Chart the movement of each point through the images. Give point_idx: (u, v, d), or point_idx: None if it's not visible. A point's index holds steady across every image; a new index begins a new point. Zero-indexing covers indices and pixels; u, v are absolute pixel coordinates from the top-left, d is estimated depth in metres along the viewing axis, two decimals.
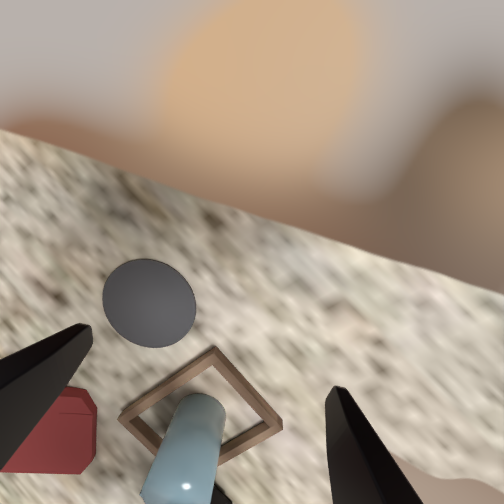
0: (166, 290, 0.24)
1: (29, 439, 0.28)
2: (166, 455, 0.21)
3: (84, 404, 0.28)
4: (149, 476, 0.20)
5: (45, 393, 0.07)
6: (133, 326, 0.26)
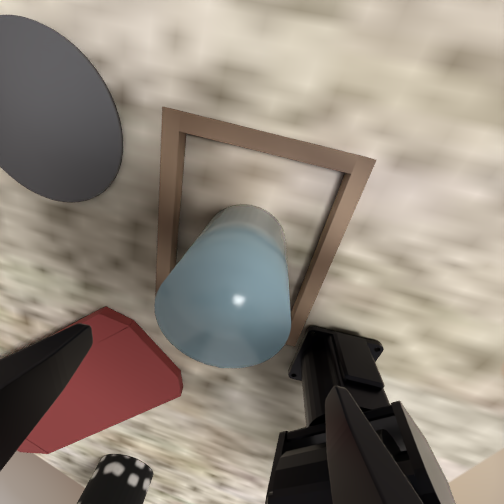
0: (30, 68, 0.13)
1: (102, 384, 0.24)
2: None
3: (110, 319, 0.21)
4: None
5: (45, 393, 0.07)
6: (60, 175, 0.16)
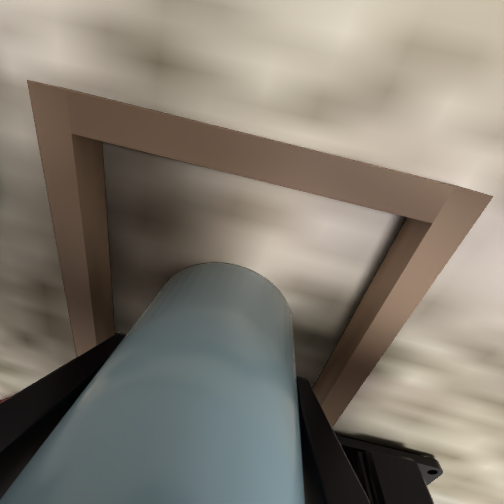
0: None
1: None
2: None
3: None
4: None
5: None
6: None
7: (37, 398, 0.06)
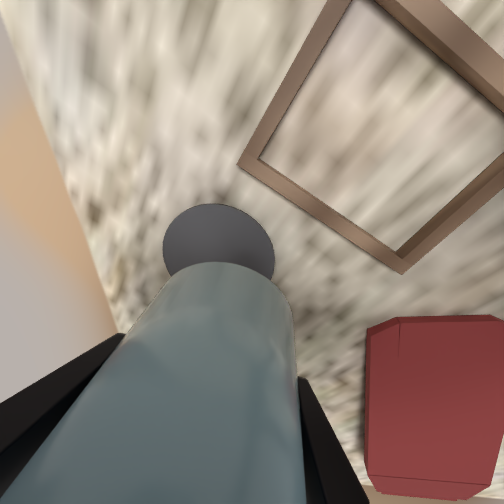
0: (189, 245, 0.21)
1: (446, 386, 0.22)
2: None
3: (382, 332, 0.21)
4: None
5: None
6: None
7: (37, 398, 0.06)
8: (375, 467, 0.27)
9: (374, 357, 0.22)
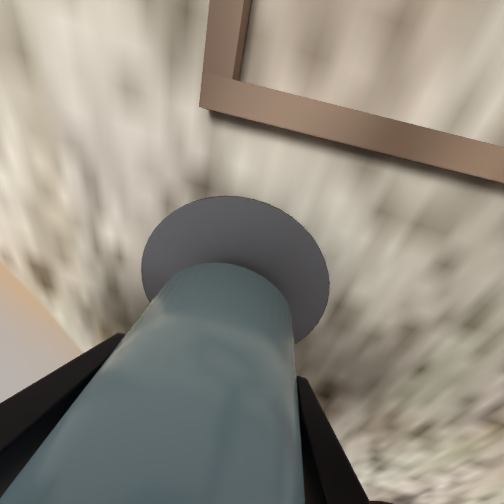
0: None
1: None
2: None
3: None
4: None
5: None
6: (291, 293, 0.12)
7: (37, 398, 0.06)
8: None
9: None
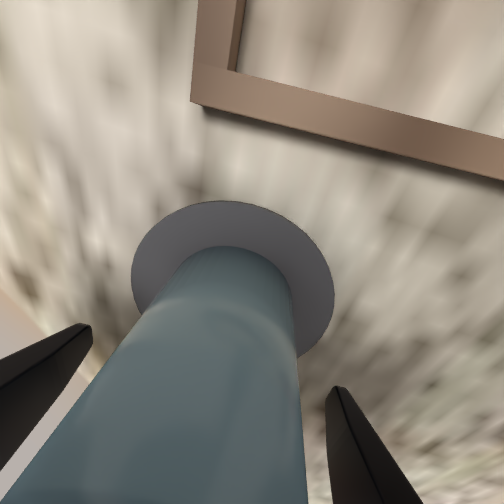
0: None
1: None
2: None
3: None
4: None
5: (45, 393, 0.07)
6: (293, 306, 0.11)
7: None
8: None
9: None
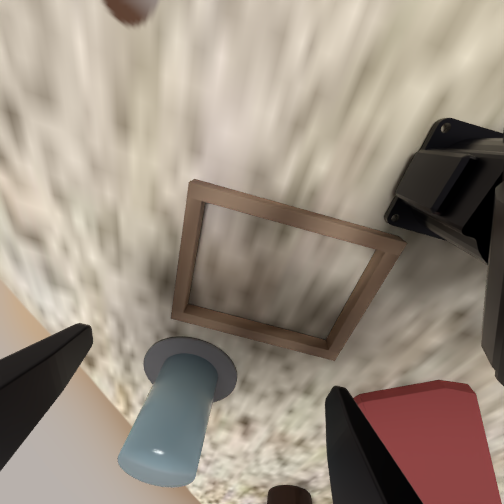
0: None
1: (424, 445, 0.24)
2: (129, 434, 0.19)
3: None
4: None
5: (45, 393, 0.07)
6: (218, 376, 0.25)
7: None
8: None
9: None
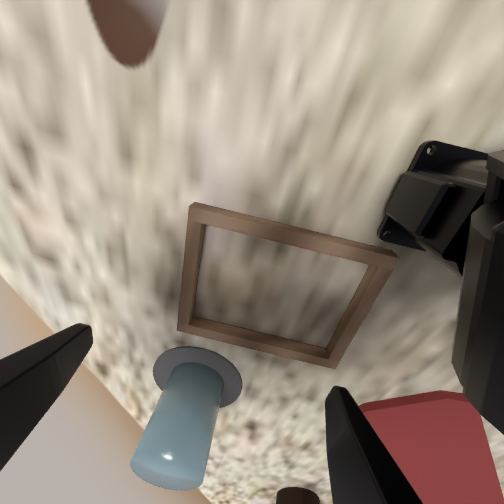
0: None
1: (428, 453, 0.25)
2: (140, 440, 0.20)
3: None
4: None
5: (45, 393, 0.07)
6: (224, 383, 0.26)
7: None
8: None
9: None
